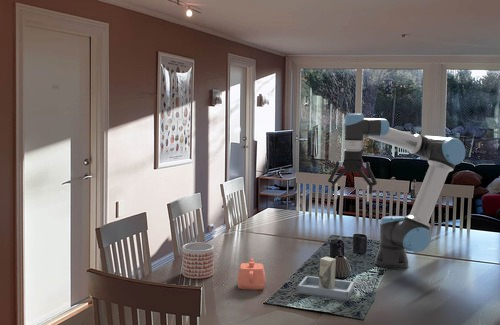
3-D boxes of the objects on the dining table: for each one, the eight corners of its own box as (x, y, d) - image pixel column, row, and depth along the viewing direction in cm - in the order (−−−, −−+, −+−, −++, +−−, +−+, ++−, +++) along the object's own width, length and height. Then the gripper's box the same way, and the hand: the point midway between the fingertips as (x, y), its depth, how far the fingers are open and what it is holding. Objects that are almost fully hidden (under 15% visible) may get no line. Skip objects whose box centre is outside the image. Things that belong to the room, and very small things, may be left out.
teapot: (236, 293, 202) (236, 268, 201) (238, 278, 220) (239, 255, 218) (265, 294, 201) (265, 268, 200) (265, 279, 219) (265, 255, 218)
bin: (305, 283, 215) (306, 275, 214) (353, 289, 208) (354, 281, 207) (297, 293, 202) (297, 285, 202) (348, 300, 195) (348, 292, 195)
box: (318, 289, 205) (319, 258, 204) (324, 286, 208) (325, 256, 207) (329, 292, 201) (329, 261, 200) (335, 290, 205) (336, 258, 203)
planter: (194, 281, 215) (194, 252, 214) (176, 273, 225) (176, 245, 224) (219, 275, 224) (220, 246, 223) (201, 267, 234) (201, 240, 233)
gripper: (322, 149, 215) (320, 199, 217) (382, 152, 206) (380, 203, 209) (325, 148, 222) (324, 196, 224) (384, 150, 213) (382, 200, 216)
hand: (351, 200), depth 216 cm, fingers open, 13 cm apart
